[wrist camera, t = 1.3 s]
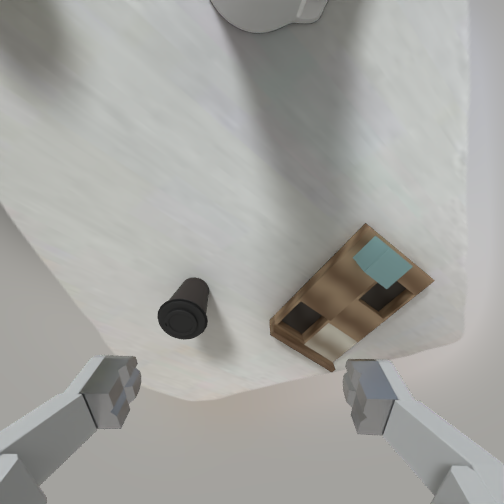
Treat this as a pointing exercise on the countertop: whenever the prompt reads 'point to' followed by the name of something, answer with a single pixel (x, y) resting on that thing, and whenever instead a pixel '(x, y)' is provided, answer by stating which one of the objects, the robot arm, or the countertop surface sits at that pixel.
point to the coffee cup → (185, 310)
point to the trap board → (342, 304)
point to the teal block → (381, 262)
